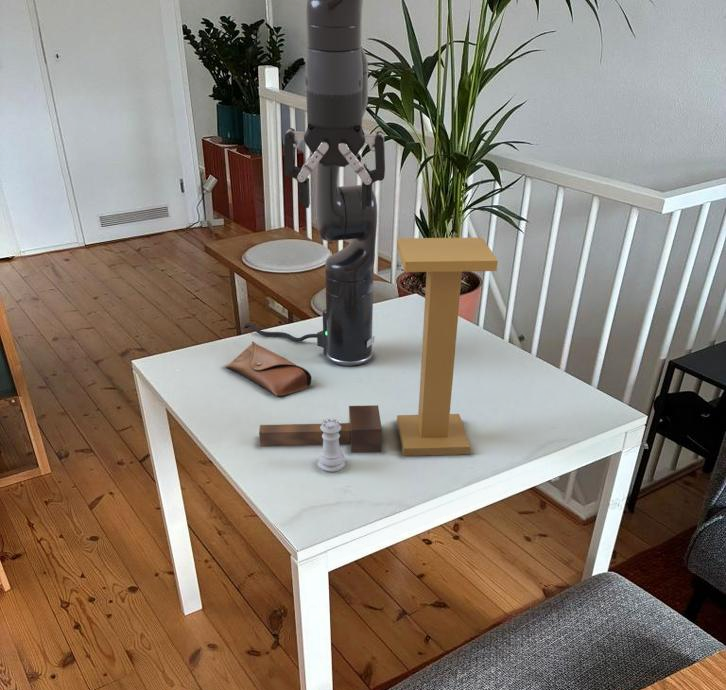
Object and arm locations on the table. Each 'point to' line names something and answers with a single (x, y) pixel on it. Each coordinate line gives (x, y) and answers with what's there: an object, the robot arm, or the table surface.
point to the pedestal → (439, 340)
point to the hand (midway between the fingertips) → (335, 207)
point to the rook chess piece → (331, 447)
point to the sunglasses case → (270, 371)
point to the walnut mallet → (357, 433)
